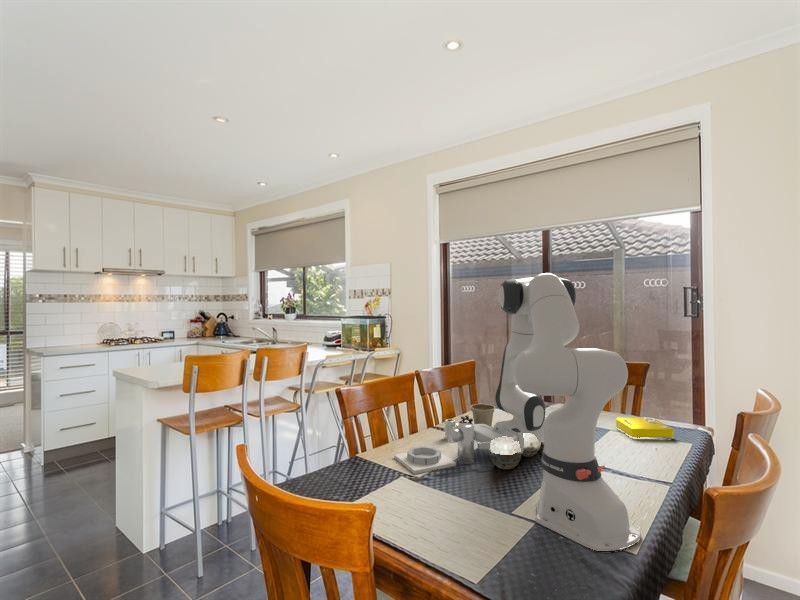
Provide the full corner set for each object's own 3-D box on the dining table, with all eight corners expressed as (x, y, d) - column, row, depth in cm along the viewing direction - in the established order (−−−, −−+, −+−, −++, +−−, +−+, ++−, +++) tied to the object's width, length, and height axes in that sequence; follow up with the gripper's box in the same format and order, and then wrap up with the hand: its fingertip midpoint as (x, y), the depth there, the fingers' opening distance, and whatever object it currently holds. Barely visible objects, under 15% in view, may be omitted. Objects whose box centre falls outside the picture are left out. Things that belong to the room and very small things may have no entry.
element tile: (613, 428, 169) (613, 416, 169) (653, 428, 169) (653, 416, 169) (632, 441, 154) (632, 427, 154) (676, 441, 154) (676, 428, 154)
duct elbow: (477, 462, 134) (477, 426, 133) (454, 467, 130) (454, 430, 130) (468, 456, 138) (468, 422, 138) (445, 461, 134) (445, 425, 134)
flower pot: (468, 431, 164) (468, 409, 163) (472, 424, 173) (472, 403, 172) (494, 434, 161) (494, 410, 161) (496, 426, 170) (496, 404, 170)
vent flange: (455, 465, 131) (455, 455, 131) (414, 474, 125) (414, 463, 125) (432, 450, 143) (432, 441, 143) (394, 457, 137) (394, 448, 137)
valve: (453, 442, 152) (474, 434, 161) (453, 423, 152) (474, 416, 160) (439, 437, 157) (460, 430, 165) (439, 419, 157) (460, 413, 165)
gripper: (485, 417, 150) (451, 422, 145) (526, 434, 132) (489, 440, 126) (485, 435, 151) (451, 441, 145) (526, 455, 132) (489, 462, 126)
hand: (469, 441), depth 135 cm, fingers open, 8 cm apart
